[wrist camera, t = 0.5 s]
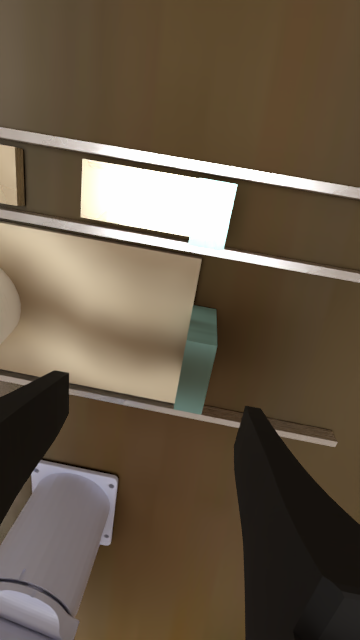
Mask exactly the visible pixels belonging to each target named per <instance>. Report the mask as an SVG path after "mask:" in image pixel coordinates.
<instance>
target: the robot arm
mask: <svg viewBox="0 0 360 640" xmlns="http://www.w3.org/2000/svg"><path fill="white" fill-rule="evenodd" d="M68 414H69V373H67V372H62V371H56V370H54V371H52V372H50V373H48V374H46V375H44V376H42V377H40V378H38V379H36V380H34V381H32V382H30V383H28V384H26V385H24V386H22V387H21V388H19V389H17V390H15V391H13V392H11V393H9V394H7V395H4V396H2V397H0V525H1V523H2V521H3V519H4V517H5V516H6V514H7V512H8V510H9V509H10V507H11V505H12V503H13V501H14V500H15V498H16V496H17V495H18V493H19V491H20V490H21V488H22V487H23V485H24V484H25V482H26V481H27V479H28V478H29V476H30V475H31V477H32V495H31V496H30V498H29V500H28V501H27V503H26V505H25V506H24V508H23V509H22V511H21V513H20V514H19V516H18V518H17V519H16V521H15V522H14V524H13V526H12V527H11V529H10V531H9V532H8V534H7V535H6V537H5V539H4V540H3V542H2V544H1V545H0V640H74V637H75V634H76V631H77V628H78V625H79V620H77V619H75V616H76V614H77V612H78V609H79V606H80V603H81V600H82V597H83V594H84V591H85V588H86V585H87V582H88V579H89V576H90V573H91V570H92V567H93V564H94V561H95V558H96V554H97V551H98V548H99V545H100V544H101V545H106V546H107V545H110V543H111V540H112V532H113V523H114V514H115V505H116V497H117V488H118V478H117V476H115V475H111V474H107V473H102V472H97V471H92V470H87V469H82V468H78V467H73V466H68V465H63V464H58V463H54V462H49V461H44V460H41V459H42V458H43V456H44V455H45V453H46V452H47V450H48V449H49V447H50V446H51V444H52V443H53V441H54V440H55V438H56V437H57V435H58V433H59V432H60V430H61V428H62V426H63V424H64V422H65V420H66V418H67V416H68ZM234 471H235V480H236V488H237V495H238V503H239V511H240V518H241V526H242V536H243V551H244V578H245V632H246V640H360V525H359V524H358V523H357V522H356V521H355V520H354V519H353V518H352V517H351V516H349V515H348V514H347V513H346V512H345V511H344V510H343V509H342V508H341V507H340V506H339V505H338V504H337V503H336V502H335V501H334V500H333V499H332V498H331V497H330V496H329V495H328V494H327V493H326V492H325V491H324V490H323V489H322V488H321V487H320V486H319V485H318V484H317V483H316V482H315V480H314V479H313V478H312V477H311V476H310V475H309V474H308V473H307V471H306V470H305V469H304V468H303V467H302V465H301V464H300V463H299V462H298V460H297V459H296V458H295V457H294V455H293V454H292V453H291V452H290V450H289V449H288V448H287V446H286V445H285V443H284V442H283V441H282V439H281V438H280V436H279V435H278V434H277V432H276V431H275V429H274V428H273V426H272V425H271V423H270V422H269V420H268V419H267V417H266V416H265V414H264V413H263V411H262V410H261V409H260V408H255V407H249V406H245V409H244V412H243V416H242V419H241V423H240V426H239V430H238V433H237V437H236V441H235V444H234Z"/></svg>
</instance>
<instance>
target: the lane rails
mask: <svg viewBox="0 0 360 640" xmlns="http://www.w3.org/2000/svg"><path fill="white" fill-rule="evenodd" d="M0 139H4V140H10V141H15V142H21V143H27V144H33V145H39V146H45V147H51V148H56V149H62V150H68V151H74V152H80V153H86V154H92V155H97V156H103V157H109V158H115V159H121V160H127V161H132V162H138V163H144V164H150V165H156V166H162V167H168V168H173V169H179V170H185V171H191V172H197V173H203V174H208V175H214V176H220V177H226V178H232V179H238V180H244V181H249V182H255V183H261V184H267V185H273V186H279V187H285V188H290V189H296V190H302V191H308V192H314V193H320V194H325V195H331V196H337V197H343V198H349V199H355V200H360V188H356V187H350V186H344V185H338V184H332V183H326V182H321V181H315V180H309V179H303V178H297V177H291V176H285V175H279V174H273V173H268V172H262V171H256V170H250V169H244V168H238V167H232V166H226V165H220V164H214V163H209V162H203V161H197V160H191V159H185V158H179V157H173V156H167V155H161V154H155V153H150V152H144V151H138V150H132V149H126V148H120V147H114V146H108V145H102V144H97V143H91V142H85V141H79V140H73V139H67V138H61V137H55V136H49V135H43V134H38V133H32V132H26V131H20V130H14V129H8V128H2V127H0ZM236 189H237V184H233V183H227V182H221V181H216V180H210V179H204V178H199V179H198V178H192V177H186V176H181V175H175V174H169V173H163V172H157V171H151V170H146V169H140V168H134V167H128V166H122V165H116V164H111V163H105V162H99V161H93V160H87V159H82V190H81V217H82V218H88V219H93V220H99V221H105V222H110V223H116V224H121V225H127V226H133V227H138V228H144V229H149V230H155V231H161V232H166V233H172V234H177V235H183V236H189V240H184V239H178V238H173V237H167V236H161V235H156V234H150V233H145V232H139V231H133V230H128V229H122V228H117V227H111V226H106V225H100V224H94V223H89V222H83V221H78V220H72V219H66V218H61V217H55V216H50V215H44V214H38V213H33V212H27V211H22V210H16V209H11V208H5V207H0V218H4V219H10V220H15V221H21V222H26V223H32V224H37V225H43V226H49V227H54V228H60V229H65V230H71V231H76V232H82V233H87V234H93V235H99V236H104V237H110V238H115V239H121V240H126V241H132V242H137V243H143V244H148V245H154V246H160V247H165V248H171V249H176V250H182V251H187V252H193V253H198V254H204V255H209V256H215V257H221V258H226V259H232V260H237V261H243V262H248V263H254V264H259V265H265V266H270V267H276V268H282V269H287V270H293V271H298V272H304V273H309V274H315V275H320V276H326V277H331V278H337V279H343V280H348V281H354V282H359V283H360V271H357V270H351V269H346V268H340V267H335V266H329V265H323V264H318V263H312V262H307V261H301V260H295V259H290V258H284V257H279V256H273V255H268V254H262V253H256V252H251V251H245V250H240V249H234V248H228V247H224V245H225V240H226V236H227V231H228V226H229V222H230V217H231V212H232V208H233V203H234V198H235V193H236ZM0 203H4V204H9V205H15V206H25V198H24V168H23V149H20V148H16V147H12V146H6V145H0ZM38 378H40V377H38V376H33V375H28V374H23V373H18V372H13V371H8V370H3V369H0V380H1V381H6V382H11V383H16V384H21V385H26V384H28V383H30V382H32V381H34V380H36V379H38ZM69 394H71V395H76V396H81V397H86V398H91V399H96V400H101V401H106V402H111V403H116V404H121V405H126V406H131V407H136V408H141V409H146V410H151V411H156V412H161V413H166V414H171V415H176V416H181V417H186V418H191V419H196V420H201V421H206V422H211V423H216V424H221V425H226V426H232V427H237V428H239V426H240V423H241V419H242V416H243V413H240V412H235V411H230V410H225V409H220V408H215V407H210V406H205V405H204V406H203V410H202V414H201V415H199V414H194V413H189V412H184V411H179V410H174V403H169V402H164V401H159V400H154V399H149V398H144V397H139V396H134V395H129V394H124V393H119V392H114V391H108V390H103V389H98V388H93V387H88V386H83V385H78V384H73V383H69ZM267 419H268V420H269V422H270V423H271V425H272V426H273V428H274V429H275V431H276V432H277V434H278V435H279V436H282V437H287V438H292V439H297V440H302V441H307V442H312V443H317V444H322V445H327V446H332V447H335V446H336V444H337V440H336V438H335V436H334V434H333V432H332V431H331V430H326V429H321V428H316V427H311V426H306V425H301V424H296V423H291V422H286V421H281V420H276V419H271V418H267Z"/></svg>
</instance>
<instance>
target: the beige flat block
mask: <svg viewBox="0 0 360 640" xmlns="http://www.w3.org/2000/svg"><path fill="white" fill-rule="evenodd" d="M201 261H202V257H200V256H194V255H188V254H183V253H177V252H172V251H166V250H161V249H155V248H150V247H144V246H139V245H133V244H128V243H122V242H117V241H111V240H105V239H100V238H94V237H89V236H83V235H78V234H72V233H67V232H61V231H56V230H50V229H45V228H39V227H33V226H28V225H22V224H17V223H11V222H6V221H0V268H1V269H2V270H3V271H4V272H5V273H6V274H7V276H8V277H9V278H10V279H11V281H12V282H13V284H14V286H15V288H16V290H17V292H18V295H19V299H20V303H21V314H20V319H19V322H18V324H17V326H16V327H15V329H14V330H13V331H12V332H11V333H10V335H9V336H8V337H7V338H6V339H5V340H4V341H3V342H2V343H1V344H0V369H3V370H8V371H13V372H18V373H23V374H28V375H33V376H38V377H42V376H44V375H46V374H48V373H50V372H52V371H54V370H56V371H62V372H67V373H69V383H73V384H78V385H83V386H88V387H93V388H98V389H103V390H108V391H114V392H119V393H124V394H129V395H134V396H139V397H144V398H149V399H154V400H159V401H164V402H169V403H174V410H179V411H184V412H189V413H194V414H199V415H201V414H202V410H203V406H204V401H205V397H206V393H207V388H208V384H209V380H210V376H211V371H212V367H213V363H214V359H215V354H216V350H217V315H216V309H212V308H207V307H201V306H196V305H193V303H194V298H195V293H196V287H197V282H198V277H199V271H200V266H201Z"/></svg>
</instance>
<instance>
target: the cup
mask: <svg viewBox="0 0 360 640" xmlns="http://www.w3.org/2000/svg"><path fill="white" fill-rule="evenodd" d="M20 314H21V303H20V299H19V295H18V292H17V290H16V288H15V286H14V284H13V282H12V281H11V279H10V278H9V277H8V276H7V274H6V273H5V272H4V271H3V270H2V269H1V268H0V344H1V343H2V342H3V341H4V340H5V339H6V338H7V337H8V336H9V335H10V333H11V332H12V331H13V330H14V329H15V327H16V326H17V324H18V322H19V319H20Z"/></svg>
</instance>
